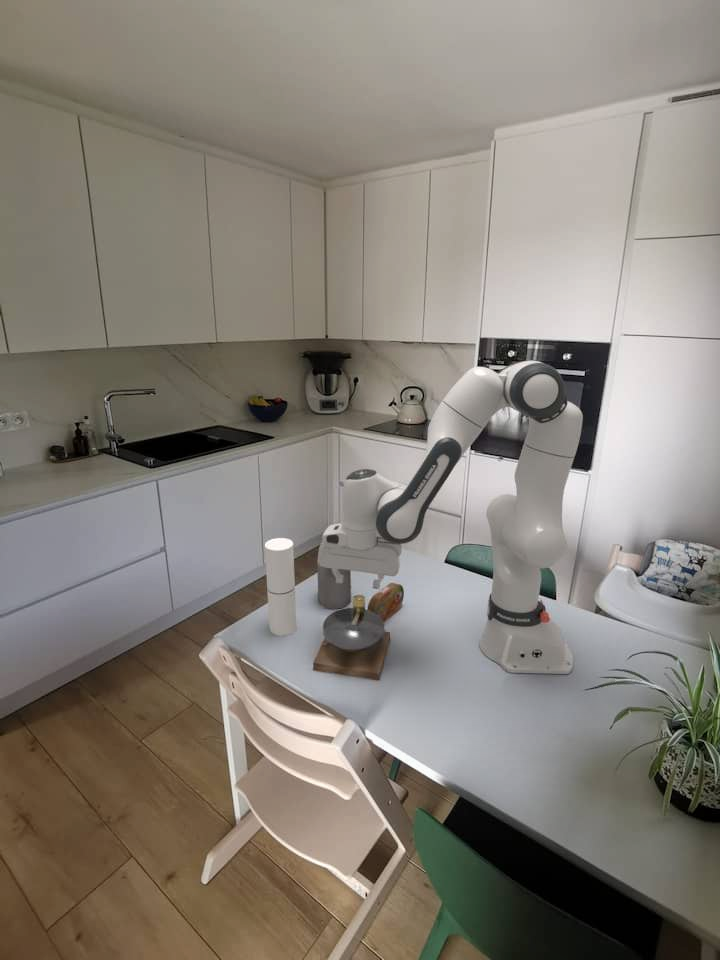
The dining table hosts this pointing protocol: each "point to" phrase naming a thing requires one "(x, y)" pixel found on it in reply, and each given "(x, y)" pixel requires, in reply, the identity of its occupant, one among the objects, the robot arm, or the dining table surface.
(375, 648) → the brown square flat block
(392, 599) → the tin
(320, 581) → the pillar candle
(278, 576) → the cylindrical container
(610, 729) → the dining table surface
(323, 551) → the robot arm
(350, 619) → the dark grey round piece
